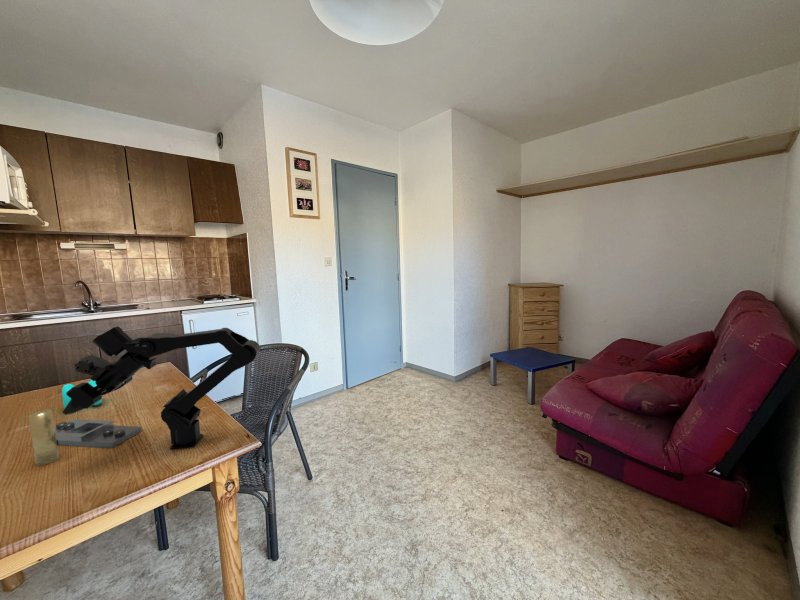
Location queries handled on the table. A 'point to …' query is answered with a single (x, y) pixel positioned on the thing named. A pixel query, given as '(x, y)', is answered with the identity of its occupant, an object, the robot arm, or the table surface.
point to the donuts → (67, 387)
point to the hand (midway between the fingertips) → (77, 405)
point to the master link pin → (43, 437)
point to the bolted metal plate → (93, 433)
